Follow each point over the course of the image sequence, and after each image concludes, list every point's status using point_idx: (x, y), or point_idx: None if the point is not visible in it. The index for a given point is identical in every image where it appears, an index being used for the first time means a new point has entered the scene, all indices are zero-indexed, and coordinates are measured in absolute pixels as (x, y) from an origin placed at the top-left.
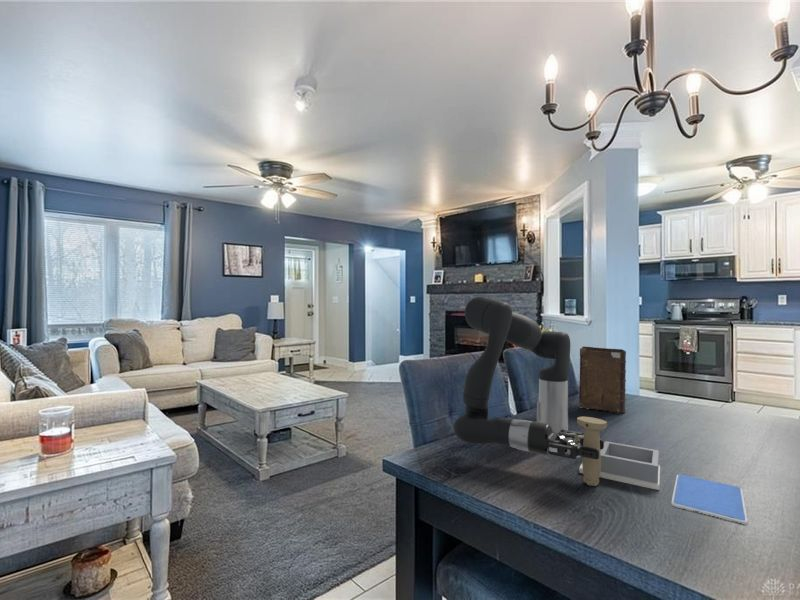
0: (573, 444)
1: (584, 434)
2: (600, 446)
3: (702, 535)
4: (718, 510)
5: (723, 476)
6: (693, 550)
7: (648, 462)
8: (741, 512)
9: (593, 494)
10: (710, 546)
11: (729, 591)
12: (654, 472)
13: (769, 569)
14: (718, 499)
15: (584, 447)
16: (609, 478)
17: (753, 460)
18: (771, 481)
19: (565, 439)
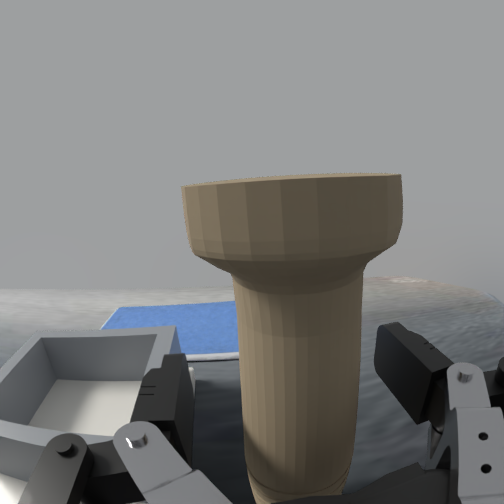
0: (474, 398)
1: (347, 330)
2: (189, 393)
3: (363, 316)
4: None
5: (64, 321)
6: (420, 311)
7: (49, 377)
8: (232, 302)
9: (391, 470)
10: (386, 307)
11: (457, 286)
12: (178, 348)
13: (376, 284)
14: (194, 317)
15: (435, 356)
16: None
17: (3, 303)
18: (73, 297)
19: (500, 444)
